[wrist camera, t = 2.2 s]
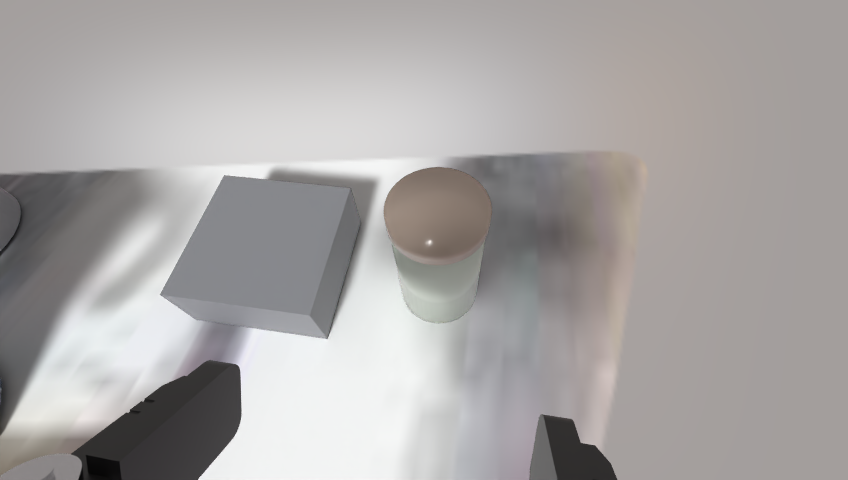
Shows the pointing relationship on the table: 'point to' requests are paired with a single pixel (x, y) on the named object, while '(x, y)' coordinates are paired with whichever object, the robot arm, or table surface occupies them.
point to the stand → (268, 256)
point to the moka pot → (0, 389)
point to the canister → (438, 240)
